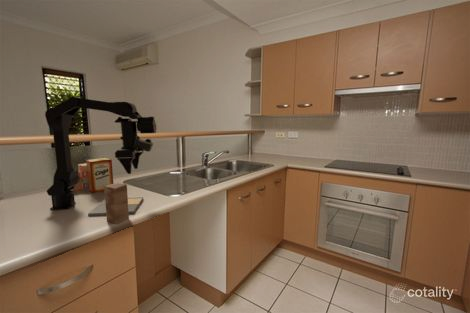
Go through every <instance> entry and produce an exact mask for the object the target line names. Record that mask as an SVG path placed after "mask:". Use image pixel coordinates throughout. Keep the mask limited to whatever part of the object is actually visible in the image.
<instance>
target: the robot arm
mask: <svg viewBox="0 0 470 313" xmlns="http://www.w3.org/2000/svg"><path fill="white" fill-rule="evenodd" d="M81 109H89V110H95V111H103V112H109V113H111V114H114V115H118V117H117V119H115V120H114V123H117V124H118V123H119V124H120V128H121V130H120V132H121V136H120V140H122V146H121V148H120V149H117V150H116V151H115V152H114V157H115V158H116V159H117V161H119V163H120V164H121V166H122V167H123V169H124V170H125V173H126V174H127V175H130V174H132V166H133V168H134V170H137V169H139V162H140V158H141V156H142V155H143V154H144V151H146V152H151V151H152V148H153V146H154V145H153V144H154V143H153V141H152V139H150V138H146V139H141V138H140V136H139V135H138V132H139V133H140V134H156V133H157V124H156V120H155V117H154V116H147V117H145V116H144V117H143V116H142V115H141V114H140V113H139V112H138V111H137V106H136V105H135V104H134V103H132V102H128V101H101V100H95V99H88V98H82V97H79V96H70V97H69V98H67V99H66V100H64V101H62V102H60V103H59V104H56V105H55V106H54V107H49V108H48V109H47V110H46V111H45V112H44V117H45V120H46V124H47V126H48V127H49V128H50V129H51V131H52V135H53V144H54V152H55V161H56V162H55V163H56V170H55V171H54V175H53V179H52V180H53V181H52V184H51V186H50V187H49V188H48V189H46V193H47V195H48V196H51V205H52V207H50V208H49V209H50V210H51V211H52V210H68V209H70V208H71V207H73V206H75V205H76V204H77V202H76V200H75V194H74V191H70V190H72V189H74V186H75V185H76V184H77V183H78V179H80V178H79V175H78V174H79V170H78V169H75V168H74V167H73V165H72V164H73V162H72V154H71V146H70V137H69V130H70V129H71V126H72V123H73V122H72V121H73V117H74V116H75V115H76V114H77V113H78V112H79V111H80V110H81ZM124 117H125V118H124Z"/></svg>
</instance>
